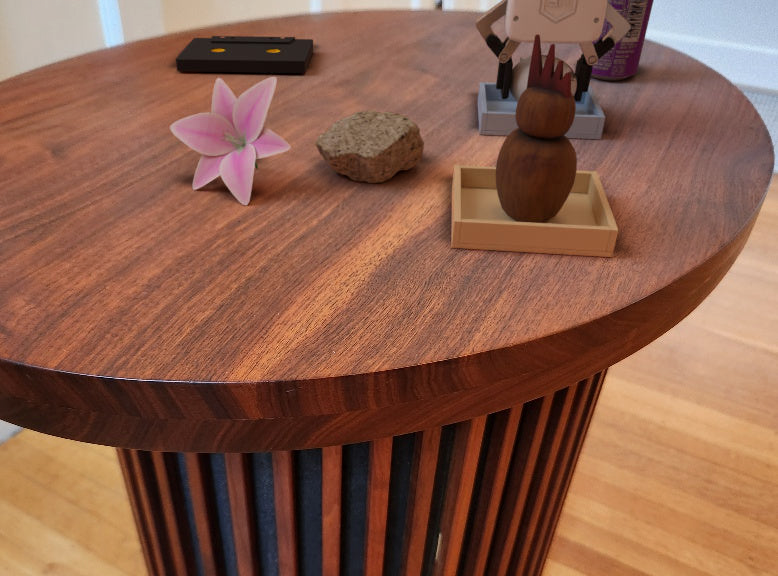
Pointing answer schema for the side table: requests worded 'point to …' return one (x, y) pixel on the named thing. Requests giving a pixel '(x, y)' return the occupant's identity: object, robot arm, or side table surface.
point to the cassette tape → (246, 54)
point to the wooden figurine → (539, 145)
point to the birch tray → (503, 233)
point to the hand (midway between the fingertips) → (540, 95)
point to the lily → (232, 137)
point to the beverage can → (624, 41)
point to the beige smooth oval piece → (522, 72)
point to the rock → (371, 145)
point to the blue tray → (501, 114)
